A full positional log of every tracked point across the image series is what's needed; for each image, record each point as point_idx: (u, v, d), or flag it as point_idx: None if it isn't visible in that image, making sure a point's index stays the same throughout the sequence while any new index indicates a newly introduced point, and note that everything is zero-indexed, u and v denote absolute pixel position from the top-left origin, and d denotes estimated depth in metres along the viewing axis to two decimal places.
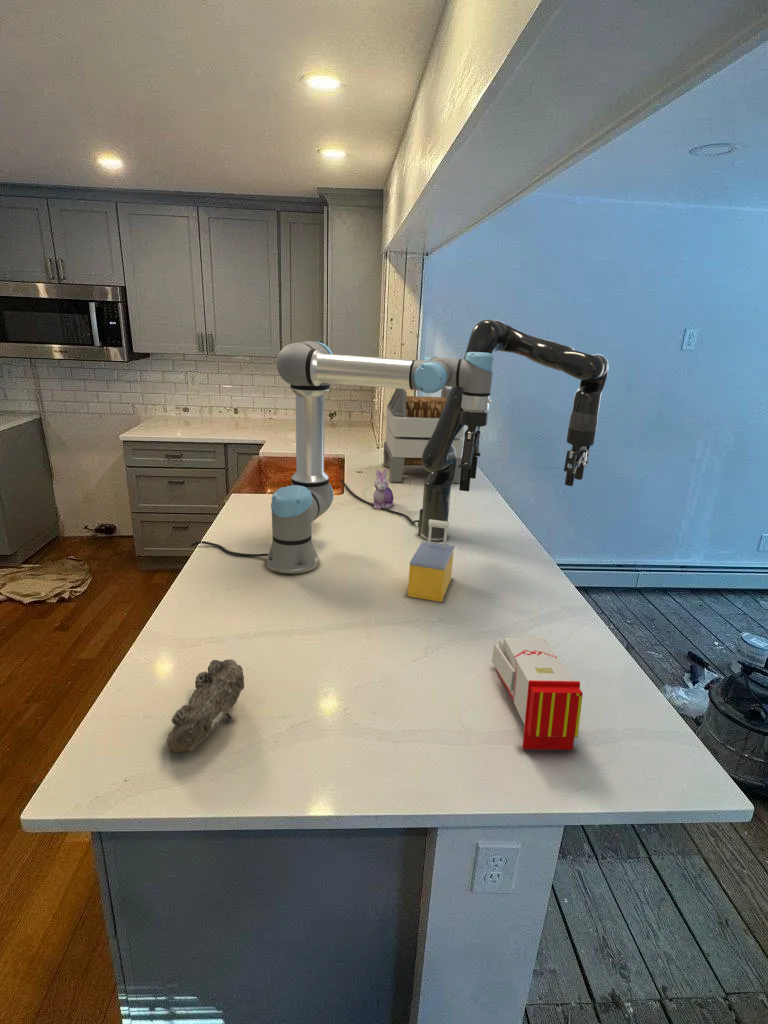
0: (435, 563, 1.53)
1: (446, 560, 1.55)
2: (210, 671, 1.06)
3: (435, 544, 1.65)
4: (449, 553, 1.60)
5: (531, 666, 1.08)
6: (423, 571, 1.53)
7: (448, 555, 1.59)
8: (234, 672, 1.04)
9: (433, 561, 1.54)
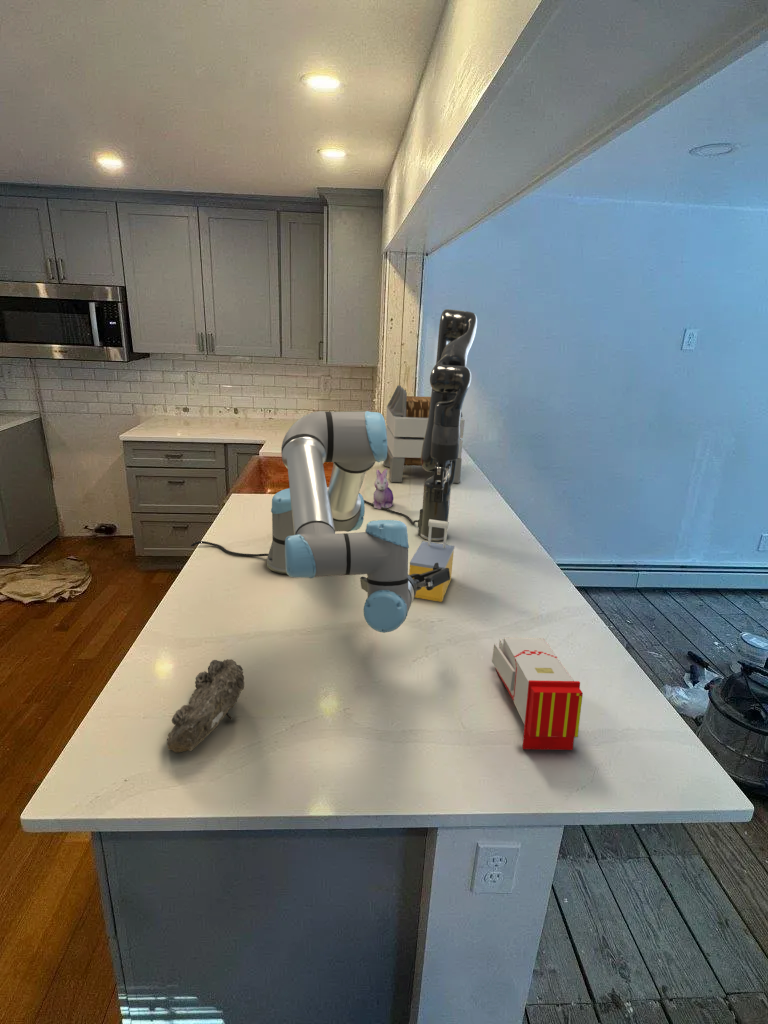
0: None
1: (446, 560, 1.55)
2: (210, 671, 1.06)
3: (435, 544, 1.65)
4: (449, 553, 1.60)
5: (531, 666, 1.08)
6: (423, 571, 1.53)
7: (448, 555, 1.59)
8: (234, 672, 1.04)
9: (433, 561, 1.54)
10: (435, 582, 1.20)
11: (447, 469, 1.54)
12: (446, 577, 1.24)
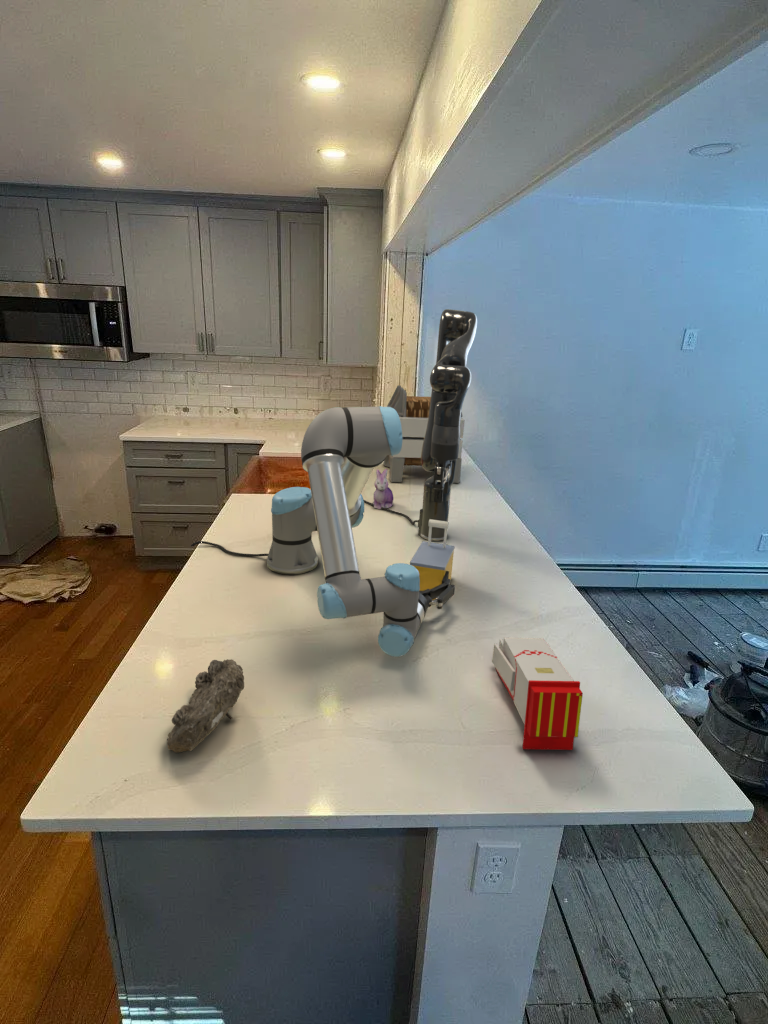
0: (435, 563, 1.53)
1: (446, 560, 1.55)
2: (210, 671, 1.06)
3: (435, 544, 1.65)
4: (449, 553, 1.60)
5: (531, 666, 1.08)
6: (423, 571, 1.53)
7: (448, 555, 1.59)
8: (234, 672, 1.04)
9: (433, 561, 1.54)
10: (444, 600, 1.42)
11: (447, 469, 1.54)
12: (451, 593, 1.46)
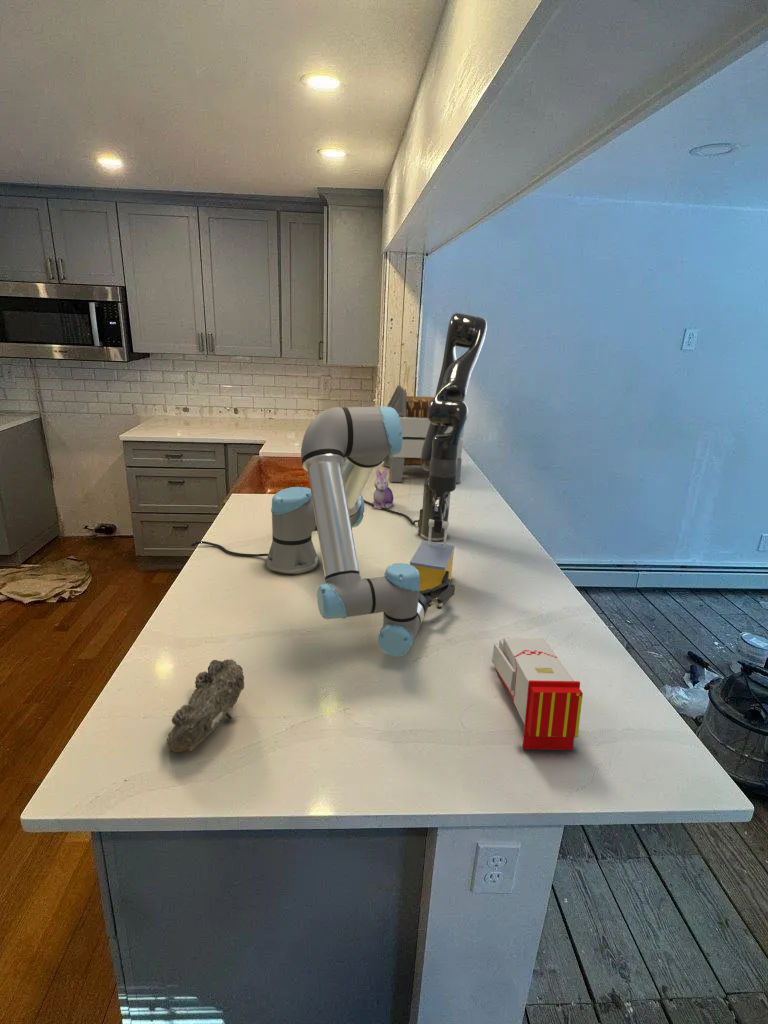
0: (435, 563, 1.53)
1: (446, 560, 1.55)
2: (210, 671, 1.06)
3: (435, 544, 1.65)
4: (449, 553, 1.60)
5: (531, 666, 1.08)
6: (423, 571, 1.53)
7: (448, 555, 1.59)
8: (234, 672, 1.04)
9: (433, 561, 1.54)
10: (444, 600, 1.42)
11: (444, 501, 1.57)
12: (451, 593, 1.46)
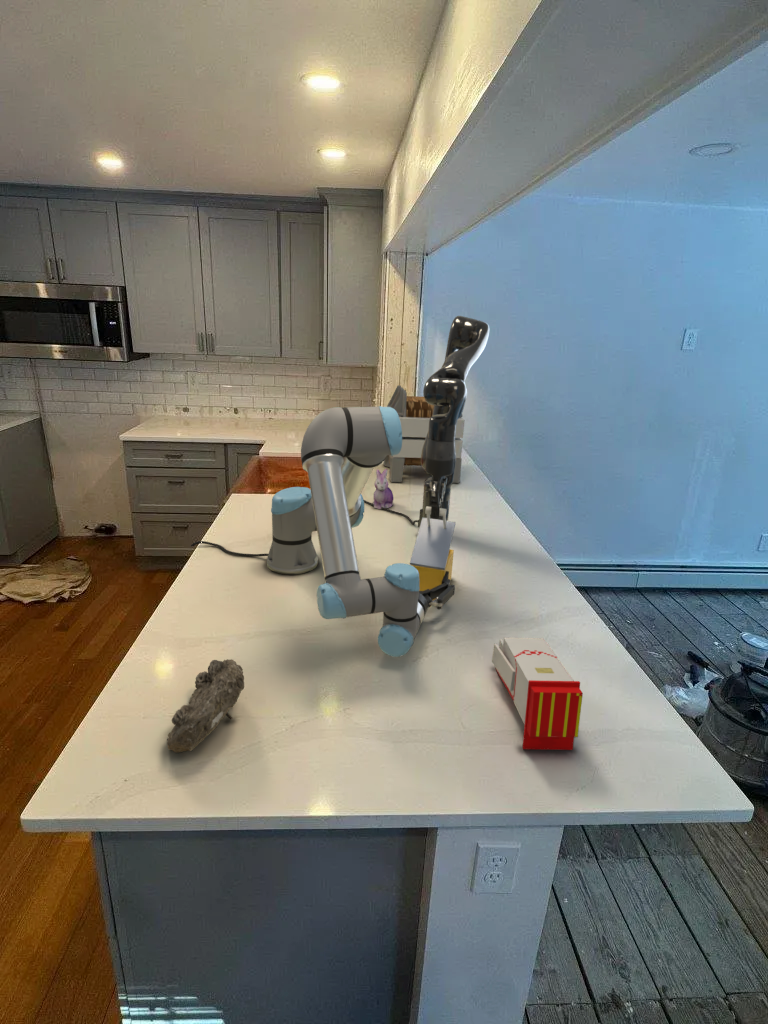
0: (435, 561, 1.52)
1: (446, 553, 1.54)
2: (210, 671, 1.06)
3: (436, 523, 1.60)
4: (450, 538, 1.56)
5: (531, 666, 1.08)
6: (423, 571, 1.53)
7: (448, 543, 1.56)
8: (234, 672, 1.04)
9: (433, 558, 1.53)
10: (444, 601, 1.42)
11: (442, 486, 1.49)
12: (451, 594, 1.46)
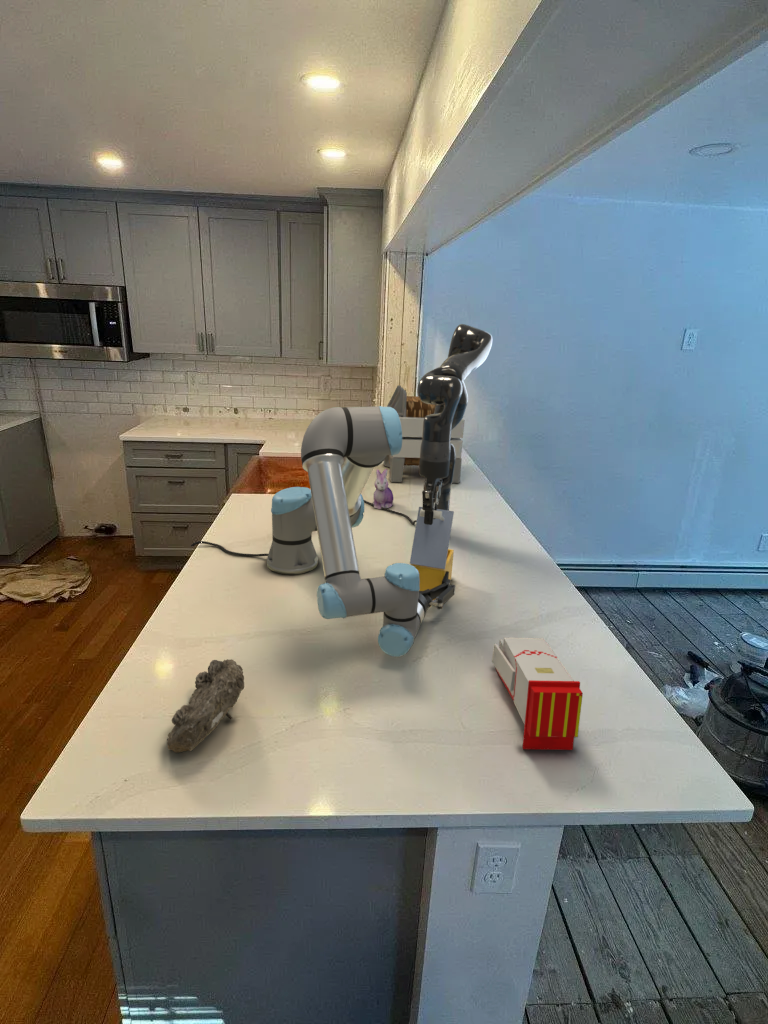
0: (435, 561, 1.52)
1: (445, 551, 1.51)
2: (210, 671, 1.06)
3: None
4: (448, 533, 1.52)
5: (531, 666, 1.08)
6: (423, 571, 1.53)
7: (447, 538, 1.52)
8: (234, 672, 1.04)
9: (432, 557, 1.52)
10: (444, 601, 1.42)
11: (437, 489, 1.42)
12: (452, 594, 1.46)
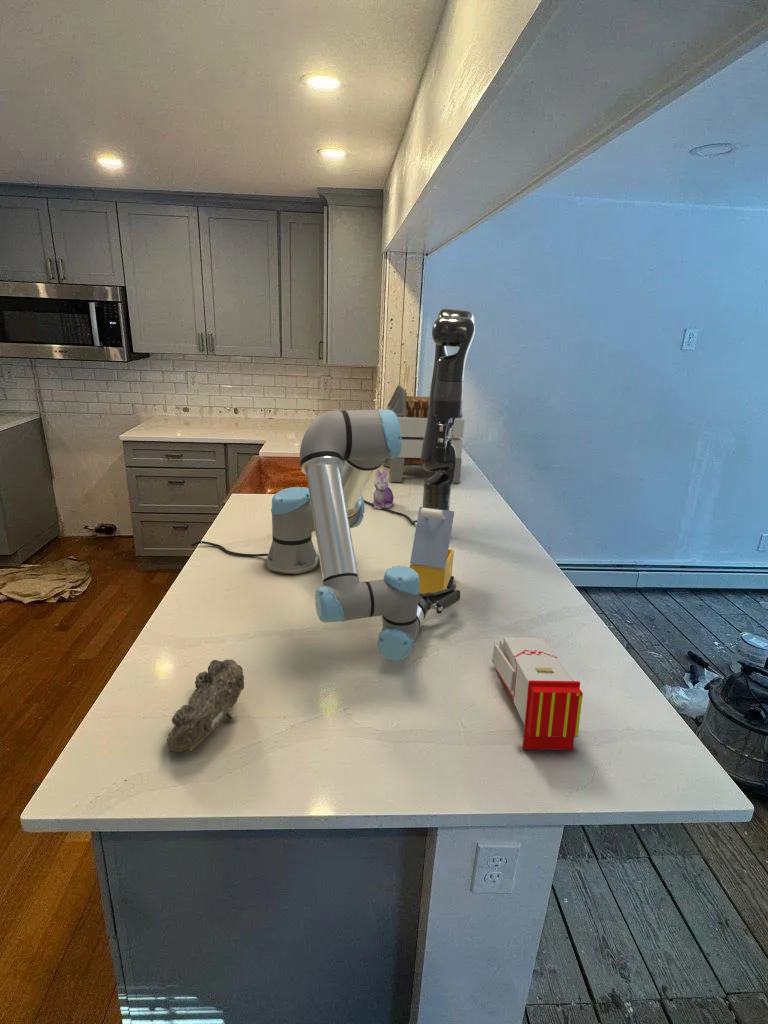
0: (435, 561, 1.52)
1: (446, 551, 1.52)
2: (210, 671, 1.06)
3: None
4: (449, 533, 1.52)
5: (531, 666, 1.08)
6: (423, 571, 1.53)
7: (448, 538, 1.52)
8: (234, 672, 1.04)
9: (433, 557, 1.52)
10: (445, 605, 1.40)
11: (450, 427, 1.48)
12: (456, 599, 1.43)
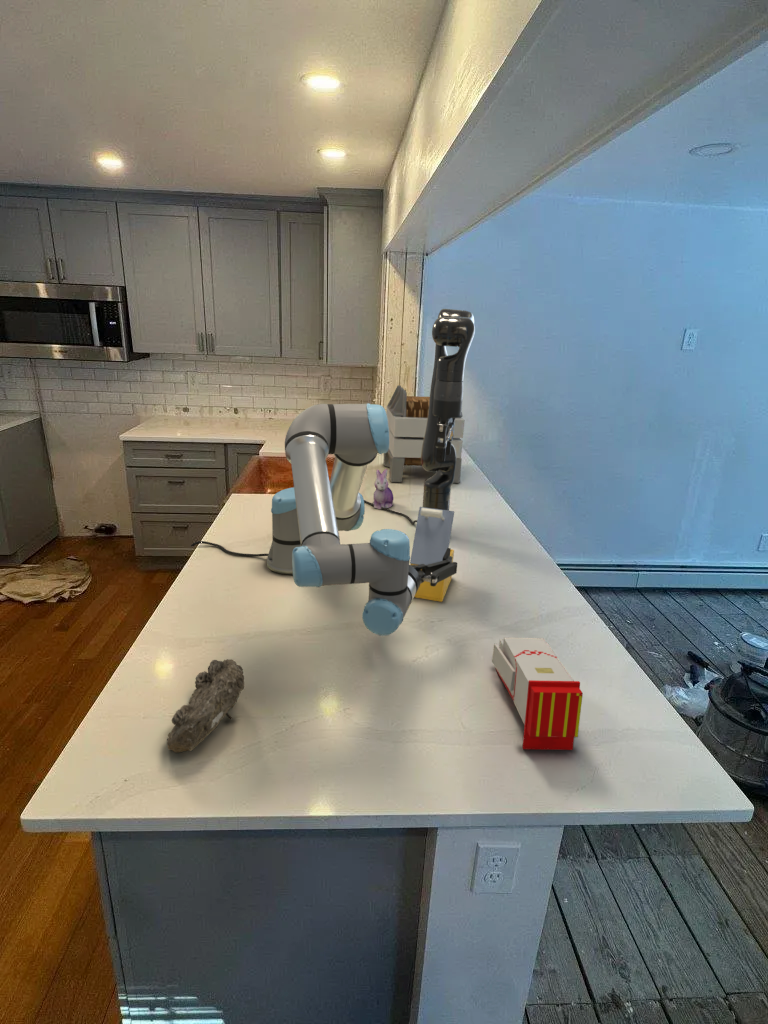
0: (435, 561, 1.52)
1: None
2: (210, 671, 1.06)
3: None
4: (449, 532, 1.53)
5: (531, 666, 1.08)
6: None
7: (448, 538, 1.52)
8: (234, 672, 1.04)
9: (433, 557, 1.52)
10: (440, 578, 1.26)
11: (450, 427, 1.48)
12: (452, 572, 1.29)
